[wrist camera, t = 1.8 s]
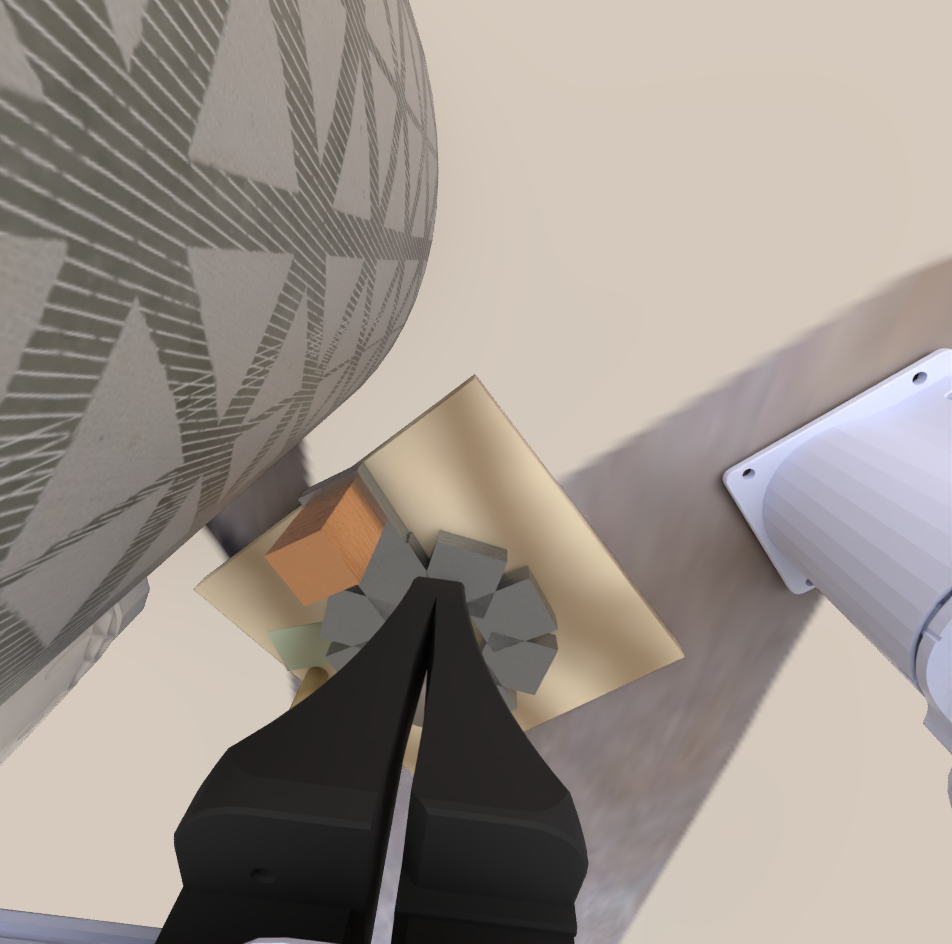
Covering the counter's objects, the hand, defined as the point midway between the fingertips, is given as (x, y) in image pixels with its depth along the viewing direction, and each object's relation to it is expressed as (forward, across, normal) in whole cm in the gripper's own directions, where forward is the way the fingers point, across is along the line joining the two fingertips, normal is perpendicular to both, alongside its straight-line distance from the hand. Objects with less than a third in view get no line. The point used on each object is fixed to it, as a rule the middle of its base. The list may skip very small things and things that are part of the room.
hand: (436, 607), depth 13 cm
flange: (+8, +1, +6) cm, 10 cm away
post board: (+9, 0, +8) cm, 12 cm away
